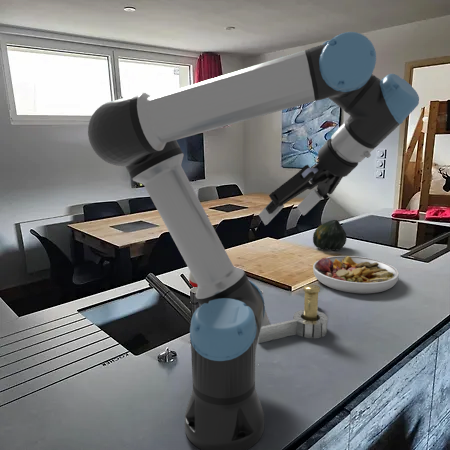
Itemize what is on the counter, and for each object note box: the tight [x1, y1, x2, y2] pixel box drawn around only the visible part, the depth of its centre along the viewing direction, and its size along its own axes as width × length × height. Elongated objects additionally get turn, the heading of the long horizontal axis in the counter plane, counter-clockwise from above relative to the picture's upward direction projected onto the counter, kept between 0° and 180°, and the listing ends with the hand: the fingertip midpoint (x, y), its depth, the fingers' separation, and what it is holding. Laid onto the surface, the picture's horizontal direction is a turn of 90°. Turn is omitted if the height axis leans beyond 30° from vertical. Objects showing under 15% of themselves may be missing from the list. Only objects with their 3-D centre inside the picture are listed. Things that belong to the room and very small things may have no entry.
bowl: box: [312, 255, 400, 295], centre depth 147 cm, size 30×30×8 cm
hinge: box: [257, 309, 329, 344], centre depth 115 cm, size 27×18×4 cm, turn 163°
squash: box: [312, 219, 347, 251], centre depth 186 cm, size 14×15×15 cm
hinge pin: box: [303, 284, 321, 321], centre depth 110 cm, size 4×4×13 cm
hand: (282, 215), depth 91 cm, fingers open, 13 cm apart
